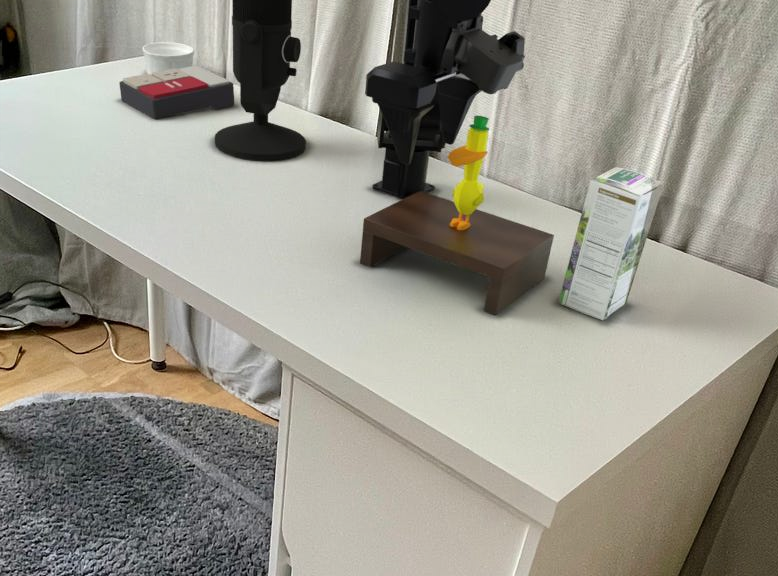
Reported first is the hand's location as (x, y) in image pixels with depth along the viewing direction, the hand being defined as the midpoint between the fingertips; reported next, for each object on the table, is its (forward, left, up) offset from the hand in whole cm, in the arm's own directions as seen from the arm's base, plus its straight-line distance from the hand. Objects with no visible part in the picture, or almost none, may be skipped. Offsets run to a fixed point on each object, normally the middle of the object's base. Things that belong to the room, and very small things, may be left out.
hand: (427, 153), depth 98 cm
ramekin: (-32, -73, -13) cm, 80 cm away
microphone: (-16, -38, -13) cm, 43 cm away
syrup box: (-4, +21, -13) cm, 25 cm away
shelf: (0, +5, -12) cm, 13 cm away
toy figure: (0, +5, -7) cm, 9 cm away
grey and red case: (-21, -60, -13) cm, 64 cm away
